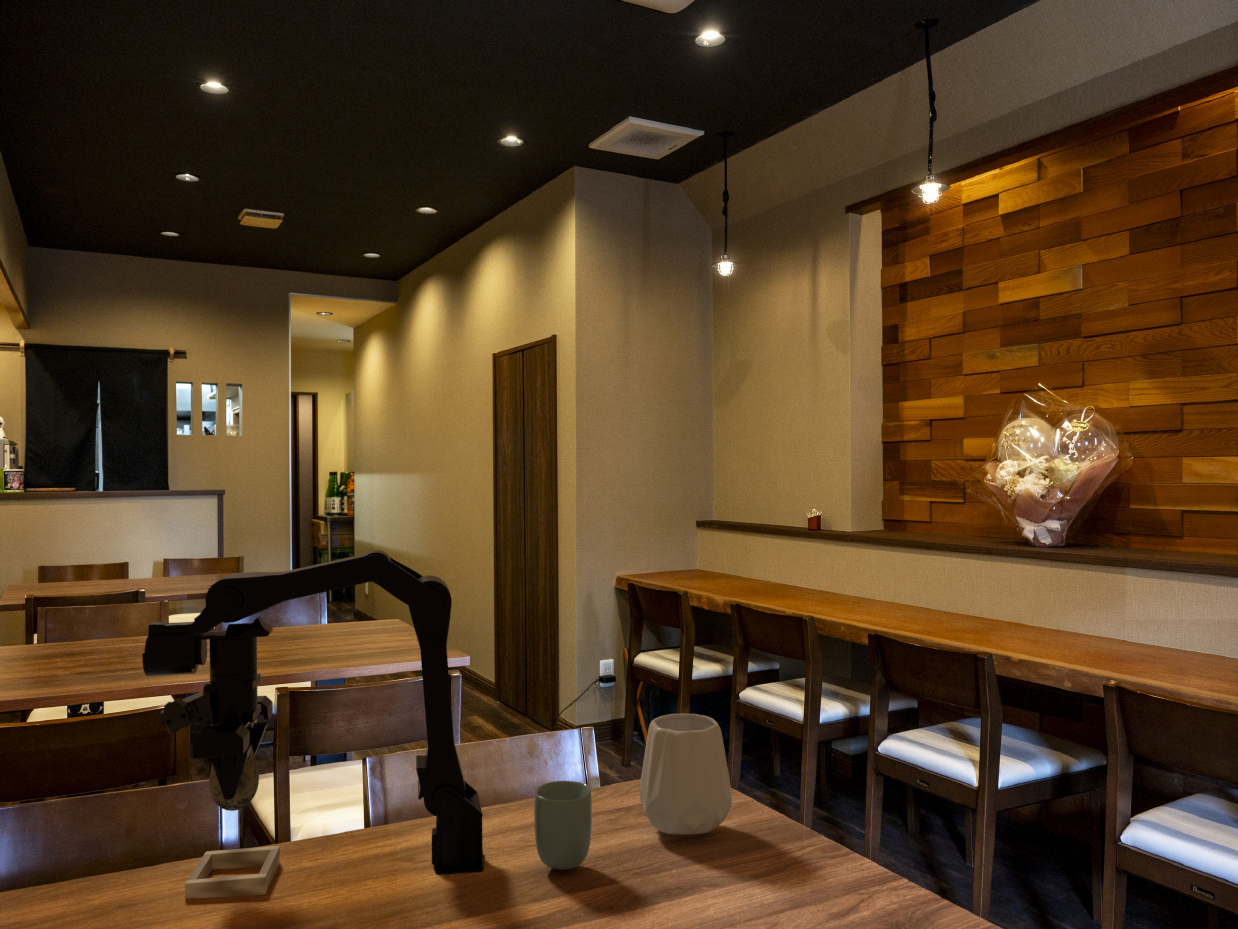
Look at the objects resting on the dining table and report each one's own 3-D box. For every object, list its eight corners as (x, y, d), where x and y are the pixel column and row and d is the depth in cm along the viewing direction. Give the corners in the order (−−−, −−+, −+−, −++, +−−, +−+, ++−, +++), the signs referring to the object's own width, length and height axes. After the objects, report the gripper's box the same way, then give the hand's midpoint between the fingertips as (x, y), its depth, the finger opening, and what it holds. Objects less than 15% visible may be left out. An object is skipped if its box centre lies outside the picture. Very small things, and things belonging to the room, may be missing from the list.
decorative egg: (268, 807, 118) (267, 731, 118) (224, 822, 113) (223, 743, 113) (244, 797, 122) (243, 724, 122) (201, 811, 117) (200, 734, 117)
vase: (671, 797, 147) (670, 704, 147) (748, 816, 139) (747, 718, 139) (621, 825, 136) (620, 725, 136) (701, 848, 127) (701, 741, 127)
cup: (584, 879, 118) (583, 803, 118) (527, 874, 120) (527, 799, 120) (597, 853, 126) (597, 782, 126) (544, 849, 127) (543, 778, 127)
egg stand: (279, 864, 123) (279, 845, 123) (265, 896, 114) (265, 877, 114) (206, 870, 121) (206, 851, 121) (185, 903, 112) (185, 883, 112)
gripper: (189, 659, 125) (190, 770, 125) (142, 692, 107) (144, 823, 107) (272, 655, 127) (274, 765, 127) (241, 687, 109) (243, 815, 109)
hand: (234, 790), depth 118 cm, fingers closed on decorative egg, 6 cm apart
